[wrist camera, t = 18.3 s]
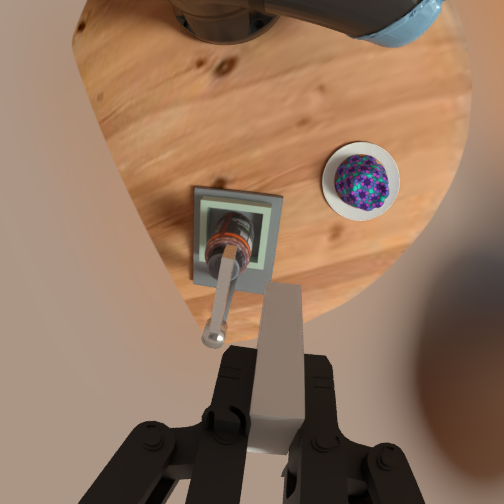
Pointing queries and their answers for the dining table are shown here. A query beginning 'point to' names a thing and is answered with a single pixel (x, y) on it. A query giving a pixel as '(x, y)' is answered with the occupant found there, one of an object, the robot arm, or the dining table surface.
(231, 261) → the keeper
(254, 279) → the socket base
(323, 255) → the dining table surface
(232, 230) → the supplement bottle
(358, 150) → the pudding
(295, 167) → the dining table surface
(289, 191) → the dining table surface
